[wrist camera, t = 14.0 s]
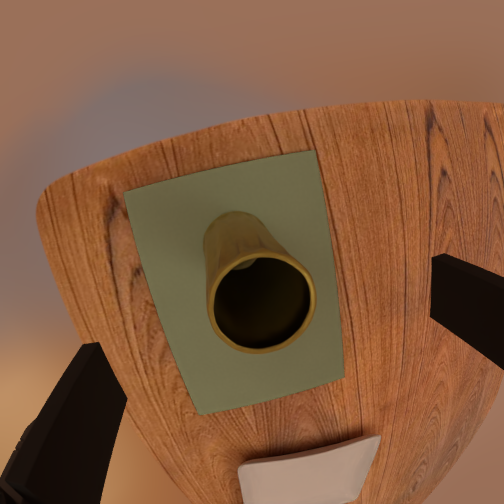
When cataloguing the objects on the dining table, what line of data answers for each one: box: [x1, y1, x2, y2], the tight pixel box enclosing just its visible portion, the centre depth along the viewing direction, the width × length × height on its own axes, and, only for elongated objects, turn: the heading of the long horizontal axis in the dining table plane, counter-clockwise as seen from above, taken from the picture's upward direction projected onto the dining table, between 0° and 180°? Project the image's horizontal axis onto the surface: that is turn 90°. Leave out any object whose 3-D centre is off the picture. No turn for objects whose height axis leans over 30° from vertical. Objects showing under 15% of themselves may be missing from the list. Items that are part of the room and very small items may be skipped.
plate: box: [238, 434, 381, 504], centre depth 37 cm, size 21×21×3 cm
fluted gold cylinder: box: [203, 211, 317, 354], centre depth 21 cm, size 6×6×14 cm
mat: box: [123, 150, 345, 415], centre depth 29 cm, size 26×18×1 cm
